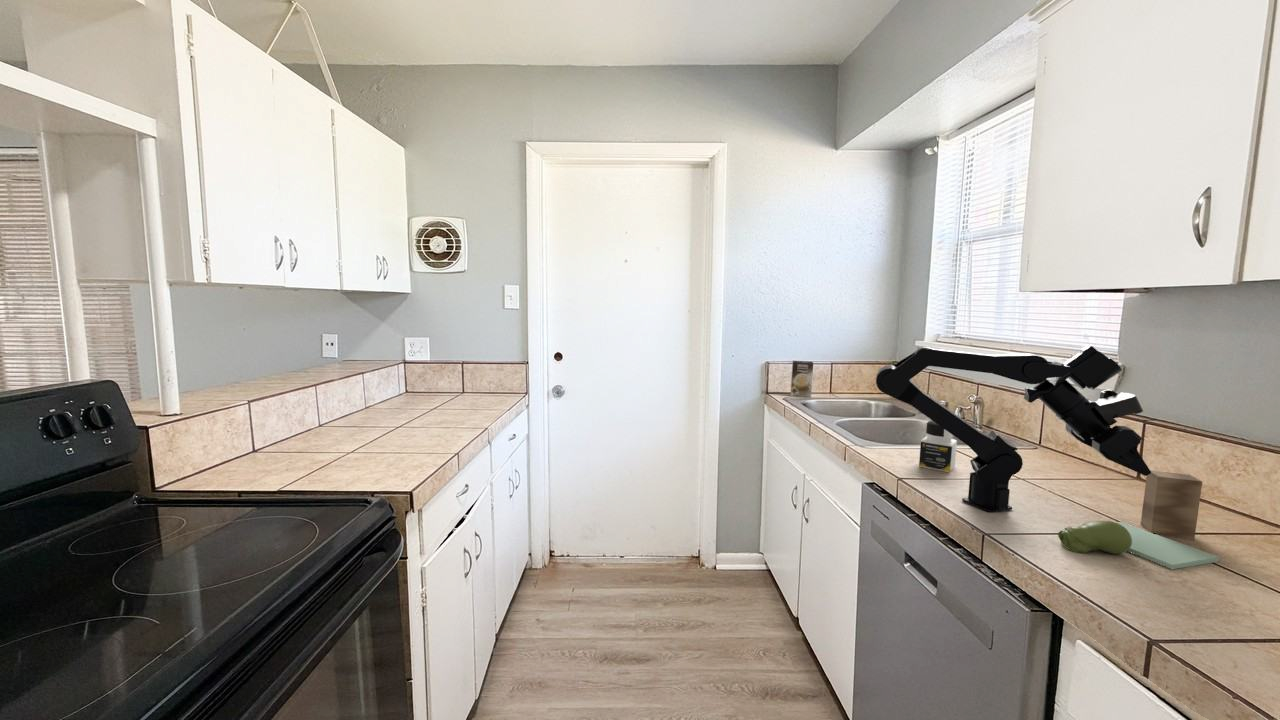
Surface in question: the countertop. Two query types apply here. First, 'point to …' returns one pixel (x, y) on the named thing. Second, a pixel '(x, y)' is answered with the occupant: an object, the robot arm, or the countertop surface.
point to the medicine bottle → (937, 448)
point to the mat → (1165, 550)
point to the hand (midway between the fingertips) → (1136, 467)
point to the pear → (1097, 537)
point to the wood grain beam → (1171, 504)
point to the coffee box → (801, 379)
